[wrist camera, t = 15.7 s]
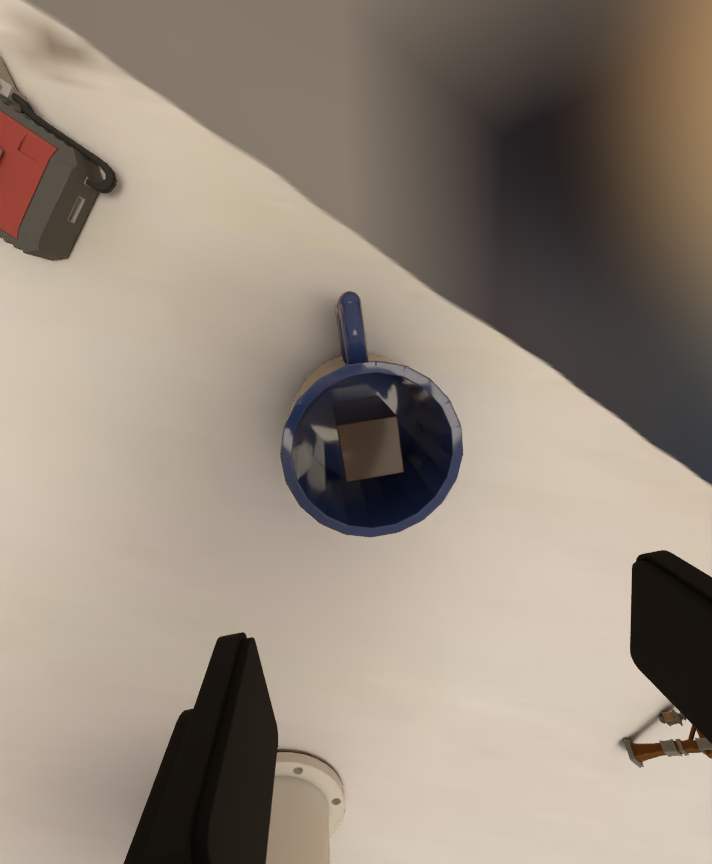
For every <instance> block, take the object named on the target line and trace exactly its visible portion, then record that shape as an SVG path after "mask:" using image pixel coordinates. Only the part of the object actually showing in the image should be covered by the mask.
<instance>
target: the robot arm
mask: <svg viewBox="0 0 712 864" xmlns="http://www.w3.org/2000/svg"><path fill="white" fill-rule="evenodd" d="M630 653H631V657H632V659H633V661H634V663H635V665H636V666H637V667H638V669H639V670H640V671H641V672H642V673H643V674H644V675H645V676H646V677H647V678H648V679H649V680H650V681H651V682H652V683H653V684H654V685H655V686H656V687H657V688H658V689H659V690H660V691H661V692H662V693H663V694H664V696H665V697H666V698H667V699H668V700H669V701H670V702H671V703H672V704H673V705H674V706H675V707H676V708H677V709H678V710H679V711H680V712H681V713H682V714H683V715H684V716H685V717H686V718H687V719H688V720H689V721H690V722H691V723H692V724H693V725H694V726H695V727H696V728H697V729H698V730H699V732H700V733H701V734H702V735H703V736H704V737H705V738H706V739H707V740H708V741H709V742H710V743H711V744H712V577H710V576H709V575H707V574H705V573H704V572H702V571H700V570H699V569H697V568H695V567H694V566H692V565H691V564H689V563H687V562H686V561H684V560H682V559H681V558H679V557H677V556H676V555H674V554H672V553H670V552H668V551H664V550H661V551H656V552H651V553H646V554H641V555H639V556H638V557H637V560H636V562H635V563H634V564H633V566H632V595H631V637H630ZM277 748H278V730H277V724H276V720H275V716H274V712H273V709H272V705H271V701H270V697H269V693H268V689H267V685H266V681H265V677H264V674H263V670H262V666H261V662H260V658H259V654H258V650H257V646H256V642H255V639H254V638H253V637H252V638H247V637H246V634H245V633H243V632H242V633H237V634H232V635H227V636H222V637H219V638H218V640H217V642H216V645H215V647H214V650H213V653H212V656H211V659H210V662H209V665H208V668H207V671H206V674H205V677H204V680H203V683H202V686H201V689H200V691H199V694H198V697H197V700H196V703H195V706H194V709H189V710H185V711H183V712H182V713H181V715H180V716H179V718H178V720H177V722H176V725H175V728H174V730H173V733H172V736H171V738H170V741H169V744H168V746H167V749H166V752H165V754H164V757H163V760H162V762H161V765H160V768H159V770H158V773H157V776H156V779H155V781H154V784H153V787H152V789H151V792H150V795H149V797H148V800H147V803H146V805H145V808H144V811H143V813H142V816H141V819H140V821H139V824H138V827H137V829H136V832H135V835H134V837H133V840H132V843H131V845H130V848H129V851H128V853H127V856H126V859H125V861H124V864H330V852H329V838H330V837H331V836H332V835H333V834H334V833H335V831H336V830H337V829H338V827H339V825H340V823H341V822H342V820H343V816H344V812H345V795H344V788H343V785H342V783H341V780H340V778H339V777H338V776H337V774H336V773H335V772H334V770H332V769H331V768H330V767H329V766H328V765H326V764H325V763H323V762H322V761H320V760H318V759H316V758H314V757H311V756H308V755H305V754H299V753H293V752H277Z"/></svg>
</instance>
